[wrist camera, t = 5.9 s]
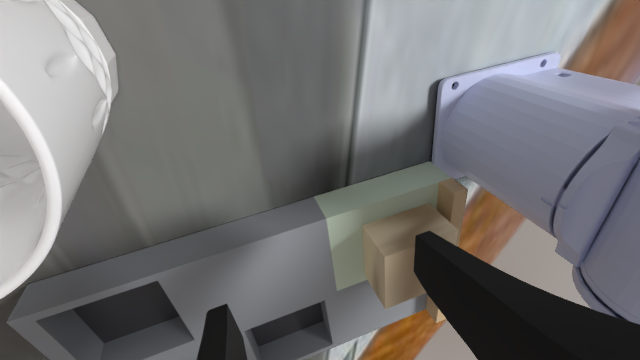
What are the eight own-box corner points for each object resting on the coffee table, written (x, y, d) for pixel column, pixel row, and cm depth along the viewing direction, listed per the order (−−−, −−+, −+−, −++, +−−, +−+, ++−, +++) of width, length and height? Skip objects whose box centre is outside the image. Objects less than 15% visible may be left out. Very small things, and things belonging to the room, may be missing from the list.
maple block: (428, 202, 21) (458, 230, 19) (424, 253, 24) (449, 283, 22) (361, 225, 20) (384, 257, 18) (365, 276, 23) (385, 309, 21)
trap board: (429, 161, 23) (467, 189, 20) (419, 284, 31) (446, 318, 28) (27, 284, 18) (-10, 350, 14) (137, 395, 25) (129, 455, 22)
